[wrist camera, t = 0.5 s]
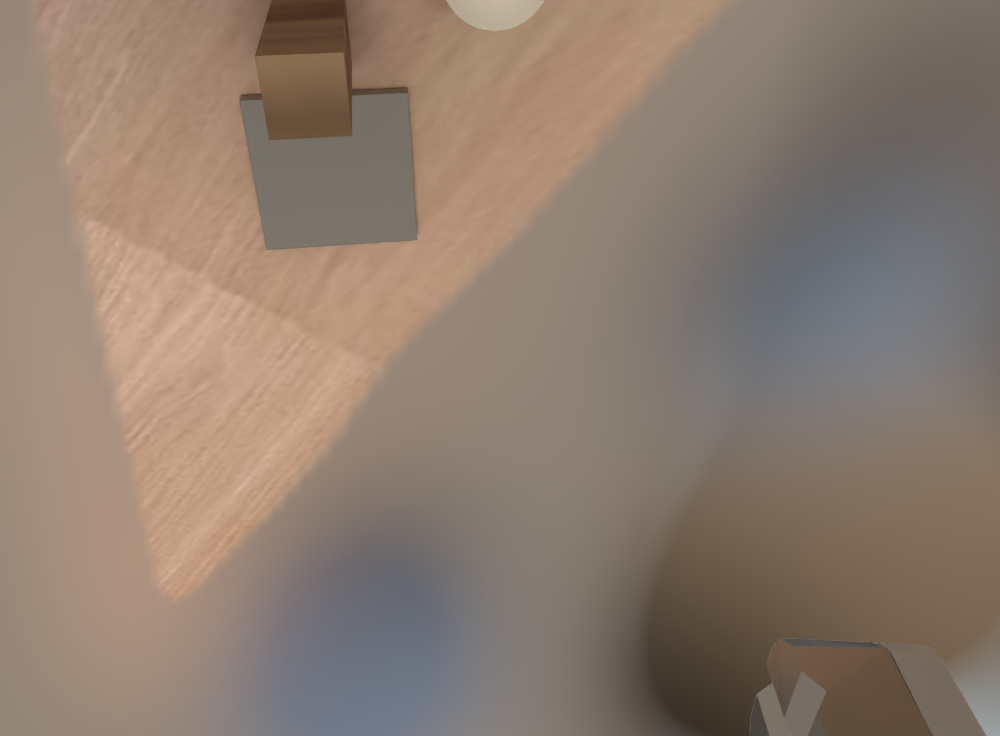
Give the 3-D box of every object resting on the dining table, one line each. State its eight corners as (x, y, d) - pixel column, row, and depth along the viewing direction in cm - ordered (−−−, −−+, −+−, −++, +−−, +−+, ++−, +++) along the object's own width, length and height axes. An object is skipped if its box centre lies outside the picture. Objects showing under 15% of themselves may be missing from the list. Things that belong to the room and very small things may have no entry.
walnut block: (273, -5, 49) (255, 56, 39) (344, -8, 49) (343, 52, 39) (284, 66, 51) (269, 140, 41) (351, 63, 51) (352, 136, 42)
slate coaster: (241, 95, 52) (239, 100, 51) (407, 87, 53) (407, 92, 52) (268, 243, 57) (266, 249, 57) (416, 233, 59) (417, 240, 58)
